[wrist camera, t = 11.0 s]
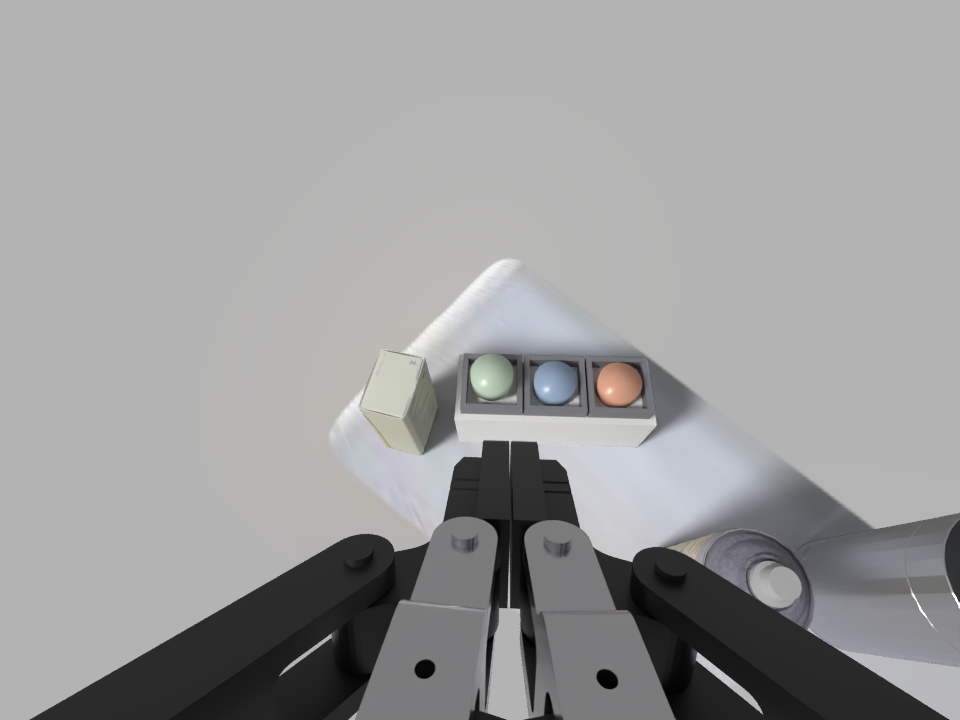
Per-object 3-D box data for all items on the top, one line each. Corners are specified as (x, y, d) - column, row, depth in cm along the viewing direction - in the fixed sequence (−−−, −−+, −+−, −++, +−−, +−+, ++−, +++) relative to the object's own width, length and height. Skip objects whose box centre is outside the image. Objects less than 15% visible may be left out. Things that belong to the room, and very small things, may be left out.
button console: (629, 387, 53) (651, 352, 45) (636, 447, 50) (661, 420, 42) (463, 383, 54) (458, 348, 46) (459, 441, 50) (453, 414, 43)
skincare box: (403, 397, 53) (380, 344, 42) (440, 405, 53) (426, 355, 42) (385, 448, 50) (354, 407, 40) (423, 458, 50) (403, 419, 39)
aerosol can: (636, 633, 42) (739, 657, 24) (623, 552, 45) (707, 519, 27) (712, 632, 42) (873, 655, 24) (695, 550, 45) (825, 516, 27)
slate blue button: (573, 370, 46) (576, 361, 44) (575, 408, 44) (578, 400, 43) (532, 369, 46) (534, 360, 45) (533, 406, 45) (534, 398, 43)
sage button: (513, 363, 46) (513, 354, 44) (512, 401, 44) (513, 393, 42) (472, 362, 46) (471, 353, 44) (470, 400, 44) (469, 392, 42)
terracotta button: (634, 372, 46) (639, 362, 44) (638, 409, 44) (644, 401, 42) (593, 371, 46) (597, 361, 44) (596, 408, 44) (600, 400, 43)
